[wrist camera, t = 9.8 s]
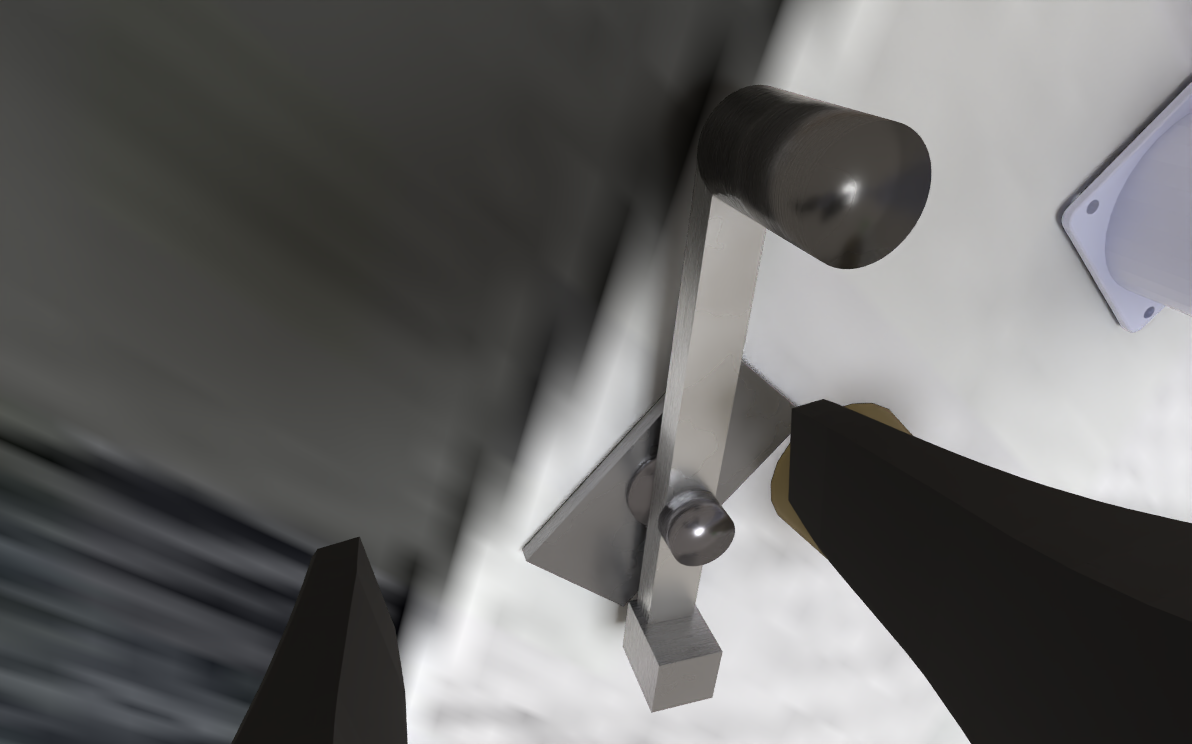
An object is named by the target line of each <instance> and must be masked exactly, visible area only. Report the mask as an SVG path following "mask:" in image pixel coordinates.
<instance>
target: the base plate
mask: <svg viewBox="0 0 1192 744" xmlns="http://www.w3.org/2000/svg"><path fill="white" fill-rule="evenodd" d="M665 394H666V393H665ZM665 394H664V395H663V396H662V397H661V398H660V399H659V400H658V402H657V403H656V404H655V405H654V406H653V407H652V408H651V409H650V410H649V411H648V413H647V414H646V415H645V416H644V417H643V418H642V419H641V420H640V421H639V422H638V423H637V425H636V426H635V427H634V428H633V429H632V430H631V431H630V432H629V433H628V434H627V435H626V437H625V438H624V439H623V440H622V441H621V442H620V443H619V444H618V445H617V446H616V448H615V449H614V450H613V451H612V452H611V453H610V454H609V455H608V456H607V457H606V458H605V460H604V461H603V462H602V463H601V464H600V465H599V466H598V467H597V468H596V469H595V471H594V472H593V473H592V474H591V475H590V476H589V477H588V478H587V479H586V480H585V481H584V483H583V484H582V485H581V486H580V487H579V488H578V489H577V490H576V491H575V492H574V494H573V495H572V496H571V497H570V498H569V499H568V500H567V501H566V502H565V503H564V504H563V506H562V507H561V508H560V509H559V510H558V511H557V512H556V513H555V514H554V515H553V516H552V518H551V519H550V520H549V521H548V522H547V523H546V524H545V525H544V526H543V527H542V529H541V530H540V531H539V532H538V533H537V534H536V535H535V536H534V537H533V538H532V539H531V541H530V542H529V543H528V544H527V545H526V546H525V547H524V548H523V549H522V550H523V553H524V556H525V559H526V561H527V562H529V563H531V564H534V565H536V566H538V567H540V568H542V569H544V570H546V571H549V572H551V573H553V574H555V575H557V576H559V577H562V578H564V579H566V580H568V581H570V582H572V583H574V584H577V585H579V586H581V587H583V588H585V589H587V590H589V591H592V592H594V593H596V594H598V595H600V596H602V597H604V598H607V599H609V600H611V601H613V602H615V603H617V604H619V605H622V606H624V605H625V604H626V603H627V602H628V601H629V600H630V599H631V598H632V597H633V596H634V595H635V594H636V593H637V592H638V591H639V584H640V576H641V569H642V562H643V555H644V547H645V540H646V533H647V525H648V518H649V511H650V504H651V496H652V489H653V482H654V475H655V467H656V460H657V453H658V445H659V438H660V431H661V424H662V416H663V409H664V402H665ZM795 407H797V406H796V405H794V404H793V403H792V402H791V401H790V400H788V399H787V398H786V397H785V396H784V395H783V394H781V393H780V392H779V391H778V390H777V389H775V388H774V387H773V386H772V385H771V384H770V383H768V382H767V381H766V380H765V379H764V378H762V377H761V376H760V375H759V374H758V373H757V372H755V371H754V370H753V369H752V368H751V367H750V366H748V365H747V364H746V363H745V362H744V361H742V360H741V365H740V370H739V375H738V380H737V386H736V391H735V396H734V401H733V407H732V412H731V417H730V423H729V428H728V433H727V438H726V444H725V449H724V454H723V459H722V465H721V470H720V475H719V481H718V486H717V491H716V496H715V498H716V499H717V500H718V502H719V503H720V504H721V505H722V504H723V503H724V502H725V501H726V500H727V499H728V498H729V497H730V496H731V495H732V494H733V493H734V492H735V491H736V490H737V488H738V487H739V486H740V485H741V484H742V483H743V482H744V481H745V480H746V479H747V478H748V477H749V476H750V475H751V474H752V473H753V472H754V471H755V470H756V469H757V468H758V467H759V466H760V465H761V464H762V463H763V462H764V461H765V460H766V459H767V457H768V456H769V455H770V454H771V453H772V452H773V451H774V450H775V449H776V448H777V447H778V446H779V445H780V444H781V443H782V442H783V441H784V440H785V439H786V438H787V437H788V436H789V435H790V434H791V412H792V408H795Z"/></svg>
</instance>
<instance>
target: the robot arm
mask: <svg viewBox="0 0 1192 744" xmlns="http://www.w3.org/2000/svg"><path fill="white" fill-rule="evenodd" d="M1062 225H1063V227H1064V229H1065V231H1066V232H1067V234H1068V236H1069V238H1070V239H1071V241H1072V243H1073V244H1074V246H1075V248H1076V250H1077V251H1078V253H1079V255H1080V256H1081V258H1082V260H1083V262H1084V263H1085V265H1086V267H1087V268H1088V270H1089V272H1090V274H1091V275H1092V277H1093V279H1094V280H1095V282H1096V284H1097V286H1098V287H1099V289H1100V291H1101V292H1102V294H1103V296H1104V298H1105V299H1106V301H1107V303H1108V304H1109V306H1110V308H1111V309H1112V311H1113V313H1114V315H1115V316H1116V318H1117V320H1118V321H1119V323H1120V325H1121V327H1122V328H1123V329H1125V330H1127V331H1129V332H1136V331H1139V330H1140V329H1141V328H1143V327H1144V326H1145V325H1146V324H1147V323H1148V322H1149V321H1150V320H1151V319H1152V318H1153V317H1154V316H1155V315H1156V314H1157V313H1158V312H1159V311H1161V310H1162V309H1163V308H1164V307H1165V306H1168V307H1170V308H1173V309H1175V310H1178V311H1180V312H1182V313H1185V314H1187V315H1190V316H1192V82H1191V83H1190V84H1189V85H1188V86H1187V87H1186V88H1185V89H1184V90H1183V91H1182V92H1181V93H1180V94H1179V95H1178V96H1177V97H1176V98H1175V99H1174V100H1173V101H1172V102H1171V103H1170V104H1169V105H1168V106H1167V107H1166V108H1165V109H1164V110H1163V111H1162V112H1161V113H1160V114H1159V115H1158V116H1157V117H1156V118H1155V119H1154V120H1153V121H1152V122H1151V123H1150V124H1149V125H1148V126H1147V127H1146V128H1145V129H1144V130H1143V131H1142V132H1141V133H1140V134H1139V136H1138V137H1137V138H1136V139H1135V140H1134V141H1133V142H1132V143H1131V144H1130V145H1129V146H1128V147H1127V148H1126V149H1125V150H1124V151H1123V152H1122V153H1121V154H1120V155H1119V156H1118V157H1117V158H1116V159H1115V160H1114V161H1113V162H1112V163H1111V164H1110V165H1109V166H1108V167H1107V168H1106V169H1105V170H1104V171H1103V172H1102V173H1101V174H1100V175H1099V176H1098V177H1097V178H1096V179H1095V180H1094V181H1093V182H1092V183H1091V184H1090V185H1089V186H1088V187H1087V188H1086V189H1085V190H1084V191H1083V192H1082V193H1081V194H1080V195H1079V196H1078V197H1077V198H1076V199H1075V200H1074V201H1073V202H1072V203H1071V205H1070V206H1069V207H1068V208H1067V209H1066V210H1065V212H1064V214H1063V216H1062ZM788 501H789V502H790V504H791V506H792V507H793V509H794V511H795V512H796V514H797V515H798V517H799V519H800V520H801V522H802V524H803V525H804V527H805V528H806V530H807V531H808V533H809V534H810V536H811V537H812V539H813V540H814V542H815V543H816V545H817V546H818V548H819V549H820V551H821V552H822V553H823V554H824V556H825V557H826V558H827V559H828V560H829V562H830V563H831V564H832V565H833V566H834V568H835V569H836V570H837V571H838V572H839V574H840V575H841V576H842V577H843V578H844V580H845V581H846V582H847V583H848V584H849V586H850V587H851V588H852V589H853V590H854V592H855V593H856V594H857V595H858V596H859V597H860V599H861V600H862V601H863V602H864V603H865V604H866V606H867V607H868V608H869V609H870V610H871V611H872V613H873V614H874V615H875V616H876V617H877V619H878V620H879V621H880V622H881V623H882V624H883V626H884V627H885V628H886V629H887V630H888V631H889V633H890V634H891V635H892V636H893V637H894V639H895V640H896V641H897V642H898V643H899V644H900V646H901V647H902V648H903V649H904V650H905V651H906V653H907V654H908V655H909V657H910V658H911V659H912V660H913V662H914V663H915V664H916V665H917V667H918V668H919V669H920V671H921V672H922V673H923V674H924V676H925V677H926V678H927V680H928V681H929V683H930V684H931V686H932V687H933V689H934V690H935V691H936V693H937V694H938V696H939V697H940V699H941V700H942V702H943V703H944V704H945V706H946V707H947V709H948V710H949V712H950V713H951V714H952V716H953V717H954V719H955V720H956V722H957V723H958V725H959V726H960V727H961V729H962V730H963V732H964V733H965V735H966V737H967V738H968V740H969V741H970V743H971V744H1192V523H1188V522H1183V521H1179V520H1174V519H1170V518H1166V517H1161V516H1157V515H1153V514H1148V513H1144V512H1139V511H1135V510H1131V509H1127V508H1123V507H1119V506H1115V505H1111V504H1107V503H1103V502H1100V501H1096V500H1092V499H1089V498H1086V497H1082V496H1079V495H1075V494H1072V493H1069V492H1065V491H1062V490H1058V489H1055V488H1052V487H1048V486H1045V485H1042V484H1039V483H1036V482H1033V481H1030V480H1027V479H1024V478H1021V477H1018V476H1015V475H1012V474H1010V473H1007V472H1004V471H1001V470H999V469H996V468H993V467H990V466H987V465H985V464H982V463H979V462H977V461H974V460H971V459H969V458H966V457H964V456H961V455H958V454H956V453H953V452H951V451H948V450H946V449H943V448H941V447H939V446H936V445H934V444H931V443H929V442H926V441H924V440H922V439H919V438H917V437H915V436H912V435H910V434H907V433H905V432H903V431H900V430H898V429H896V428H893V427H891V426H889V425H886V424H884V423H882V422H879V421H877V420H875V419H872V418H870V417H868V416H865V415H863V414H860V413H858V412H856V411H853V410H851V409H848V408H846V407H844V406H841V405H838V404H836V403H833V402H830V401H828V400H825V399H822V400H819V401H815V402H812V403H808V404H805V405H802V406H798V407H795V408H792V412H791V439H790V466H789V493H788ZM231 744H407V722H406V700H405V688H404V682H403V675H402V668H401V662H400V656H399V650H398V644H397V638H396V631H395V627H394V625H393V622H392V619H391V617H390V614H389V612H388V609H387V607H386V604H385V601H384V599H383V596H382V594H381V591H380V588H379V586H378V583H377V581H376V578H375V575H374V573H373V570H372V568H371V565H370V562H369V560H368V557H367V555H366V552H365V549H364V547H363V544H362V542H361V539H360V537H357V538H353V539H350V540H347V541H343V542H340V543H336V544H333V545H330V546H326V547H323V548H320V549H317V551H316V552H315V554H314V555H313V556H312V559H311V562H310V565H309V568H308V571H307V573H306V576H305V579H304V582H303V585H302V587H301V590H300V593H299V596H298V598H297V601H296V603H295V606H294V608H293V611H292V613H291V616H290V619H289V621H288V624H287V626H286V629H285V631H284V633H283V636H282V638H281V640H280V642H279V645H278V647H277V649H276V652H275V654H274V656H273V658H272V661H271V663H270V665H269V668H268V670H267V672H266V674H265V677H264V679H263V681H262V683H261V685H260V687H259V689H258V691H257V693H256V695H255V697H254V699H253V701H252V703H251V705H250V707H249V709H248V711H247V713H246V715H245V717H244V719H243V721H242V723H241V725H240V727H239V729H238V731H237V733H236V735H235V737H234V739H233V741H232V743H231Z"/></svg>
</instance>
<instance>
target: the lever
mask: <svg viewBox="0 0 1192 744" xmlns="http://www.w3.org/2000/svg"><path fill="white" fill-rule="evenodd" d="M697 161H698V162H697V169H696V176H695V184H694V191H693V198H692V205H691V213H690V220H689V227H688V234H687V242H686V249H685V256H684V264H683V271H682V278H681V285H680V293H679V300H678V307H677V314H676V322H675V329H674V336H673V344H672V351H671V358H670V365H669V373H668V380H667V387H666V394H665V402H664V409H663V416H662V424H661V431H660V438H659V445H658V453H657V460H656V467H655V475H654V482H653V489H652V496H651V504H650V511H649V518H648V525H647V533H646V540H645V547H644V555H643V562H642V569H641V576H640V584H639V591H638V598H637V600H633V601H629V602H628V610H627V617H626V625H625V633H624V640H623V648H624V651H625V653H626V655H627V657H628V660H629V662H630V664H631V667H632V669H633V671H634V674H635V676H636V678H637V680H638V683H639V685H640V687H641V690H642V692H643V694H644V697H645V699H646V701H647V703H648V706H649V708H650V710H651V713H652V712H656V711H660V710H664V709H668V708H672V707H676V706H680V705H684V704H688V703H692V702H696V701H700V700H704V699H708V698H712V696H713V692H714V687H715V683H716V678H717V674H718V669H719V665H720V661H721V656H722V650H721V648H720V646H719V645H718V643H717V641H716V640H715V638H714V636H713V634H712V633H711V631H710V629H709V627H708V626H707V624H706V622H705V620H704V619H703V617H702V615H701V614H700V612H699V610H698V608H697V607H696V605H695V602H696V597H697V591H698V586H699V581H700V576H701V570H702V565H704V564H707V563H709V562H711V561H713V560H715V559H716V558H718V557H719V556H721V555H722V554H723V553H724V552H725V551H726V550H727V548H728V547H729V546H730V544H731V542H732V540H733V538H734V534H735V526H734V523H733V521H732V520H731V518H730V517H729V515H728V514H727V513H726V511H725V510H724V509H723V507H722V506H721V504H720V503H719V502H718V500H717V499H716V498H715V496H716V491H717V486H718V481H719V475H720V470H721V465H722V459H723V454H724V449H725V444H726V438H727V433H728V428H729V423H730V417H731V412H732V407H733V401H734V396H735V391H736V386H737V380H738V375H739V370H740V365H741V359H742V354H743V349H744V343H745V338H746V333H747V328H748V322H749V317H750V312H751V307H752V301H753V296H754V291H755V285H756V280H757V275H758V270H759V264H760V259H761V254H762V249H763V243H764V238H765V233H766V228H767V229H769V230H770V231H772V232H774V233H775V234H777V235H779V236H780V237H782V238H783V239H785V240H787V241H788V242H790V243H792V244H793V245H795V246H797V247H798V248H800V249H802V250H803V251H805V252H807V253H808V254H810V255H812V256H813V257H815V258H817V259H818V260H820V261H822V262H823V263H825V264H827V265H829V266H832V267H835V268H840V269H854V268H860V267H864V266H867V265H869V264H872V263H874V262H876V261H878V260H880V259H882V258H883V257H885V256H886V255H888V254H889V253H890V252H891V251H893V250H894V249H895V248H896V247H897V246H898V245H899V244H900V243H901V242H902V241H903V240H904V239H905V238H906V237H907V236H908V234H909V233H910V232H911V230H912V229H913V227H914V226H915V224H916V223H917V221H918V219H919V217H920V216H921V213H922V211H923V209H924V207H925V204H926V201H927V198H928V194H929V190H930V183H931V162H930V157H929V153H928V150H927V148H926V145H925V144H924V142H923V140H922V139H921V137H920V136H919V135H918V134H917V133H916V132H915V131H914V130H913V129H911V128H910V127H908V126H906V125H904V124H902V123H899V122H896V121H892V120H888V119H885V118H881V117H878V116H874V115H871V114H867V113H863V112H860V111H856V110H853V109H849V108H846V107H842V106H838V105H835V104H831V103H828V102H824V101H821V100H817V99H813V98H810V97H806V96H803V95H799V94H796V93H792V92H788V91H785V90H781V89H778V88H774V87H771V86H765V85H754V86H748V87H745V88H742V89H740V90H738V91H736V92H734V93H732V94H731V95H729V96H728V97H726V98H725V99H724V100H723V101H722V102H720V103H719V105H718V106H717V107H716V108H715V109H714V110H713V112H712V113H711V114H710V116H709V118H708V119H707V121H706V123H705V125H704V127H703V130H702V132H701V136H700V139H699V144H698V152H697Z"/></svg>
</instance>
